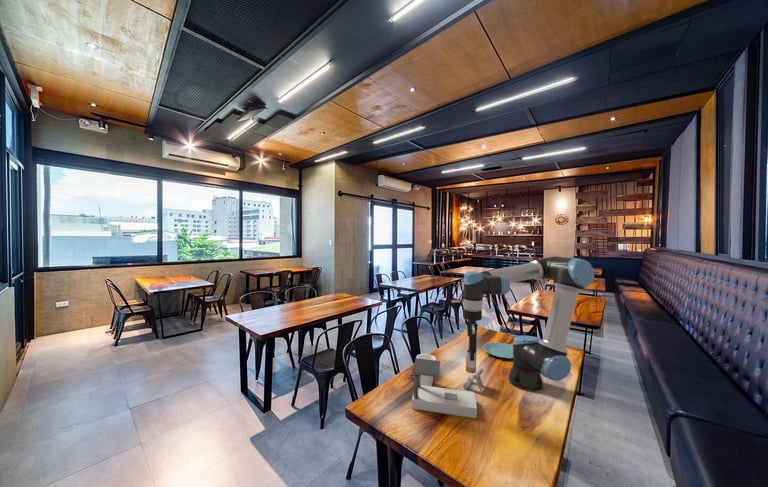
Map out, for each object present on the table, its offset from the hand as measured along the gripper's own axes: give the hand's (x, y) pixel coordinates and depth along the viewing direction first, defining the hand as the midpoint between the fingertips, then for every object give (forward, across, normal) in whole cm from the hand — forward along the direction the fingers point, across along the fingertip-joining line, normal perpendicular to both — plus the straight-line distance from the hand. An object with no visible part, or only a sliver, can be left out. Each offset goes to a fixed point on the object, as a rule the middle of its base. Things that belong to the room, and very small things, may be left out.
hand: (471, 364), depth 117 cm
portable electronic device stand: (+19, -19, +4) cm, 27 cm away
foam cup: (+19, -16, -19) cm, 32 cm away
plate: (+19, -63, +25) cm, 70 cm away
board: (+19, -1, -11) cm, 22 cm away
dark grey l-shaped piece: (+15, -1, -18) cm, 24 cm away
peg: (+3, 0, 0) cm, 3 cm away
